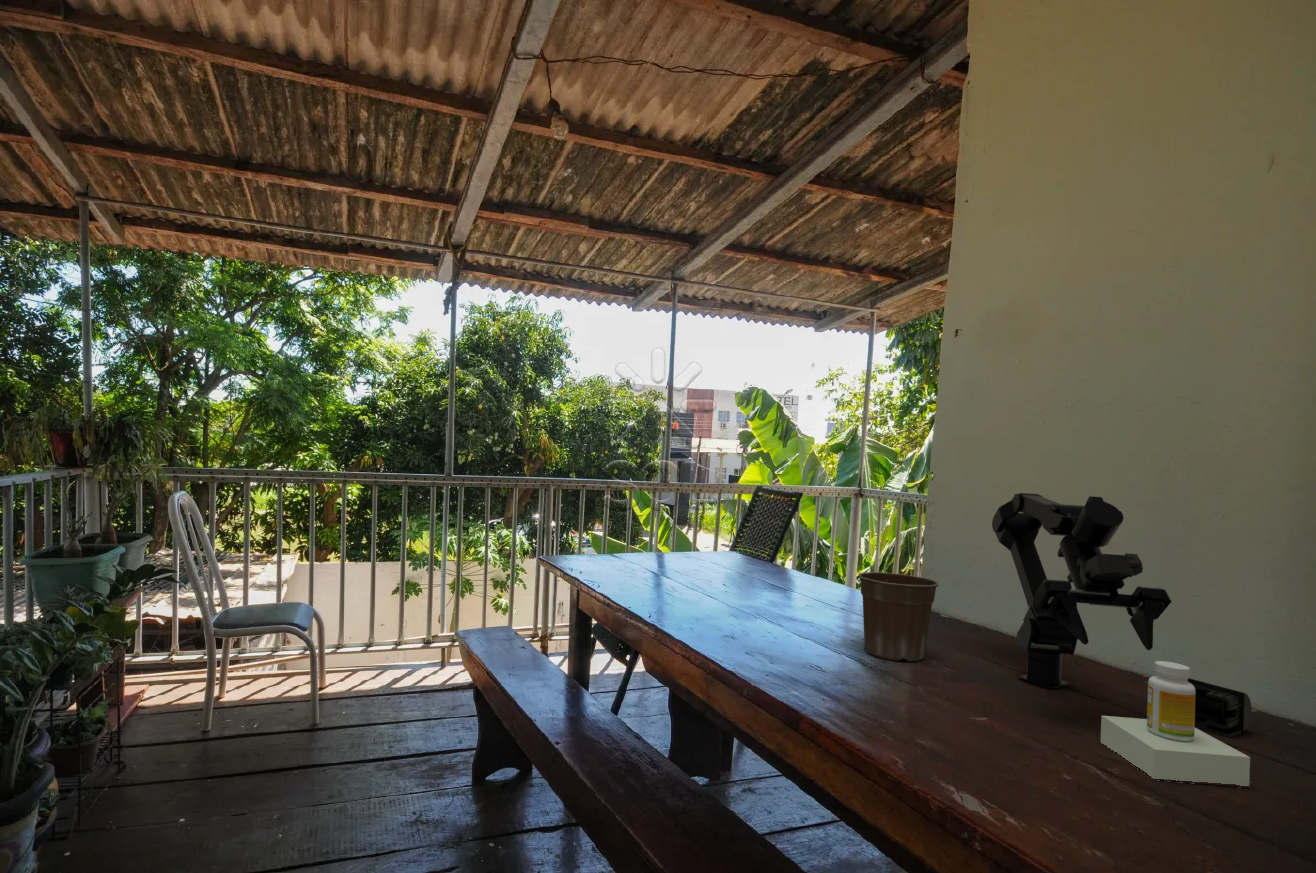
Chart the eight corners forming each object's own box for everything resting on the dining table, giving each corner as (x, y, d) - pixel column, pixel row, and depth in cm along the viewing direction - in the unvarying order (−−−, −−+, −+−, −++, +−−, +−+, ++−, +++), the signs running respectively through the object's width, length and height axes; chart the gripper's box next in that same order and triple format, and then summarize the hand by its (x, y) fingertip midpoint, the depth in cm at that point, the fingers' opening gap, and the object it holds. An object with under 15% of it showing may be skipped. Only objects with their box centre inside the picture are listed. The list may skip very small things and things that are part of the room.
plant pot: (868, 639, 156) (872, 568, 157) (943, 654, 147) (946, 579, 147) (843, 653, 143) (847, 576, 143) (923, 671, 133) (927, 588, 134)
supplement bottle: (1204, 741, 94) (1206, 670, 94) (1173, 742, 93) (1175, 670, 93) (1167, 726, 99) (1169, 659, 100) (1137, 727, 98) (1139, 659, 98)
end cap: (1251, 733, 110) (1252, 690, 110) (1232, 739, 107) (1233, 696, 107) (1179, 711, 119) (1180, 672, 119) (1159, 716, 115) (1160, 676, 115)
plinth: (1100, 742, 102) (1101, 715, 102) (1184, 749, 101) (1184, 722, 101) (1153, 779, 90) (1154, 749, 90) (1249, 788, 89) (1250, 757, 89)
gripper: (1044, 530, 113) (1072, 612, 101) (1166, 538, 110) (1210, 623, 99) (1022, 570, 120) (1047, 650, 109) (1137, 578, 118) (1174, 661, 107)
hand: (1118, 645), depth 106 cm, fingers open, 9 cm apart
